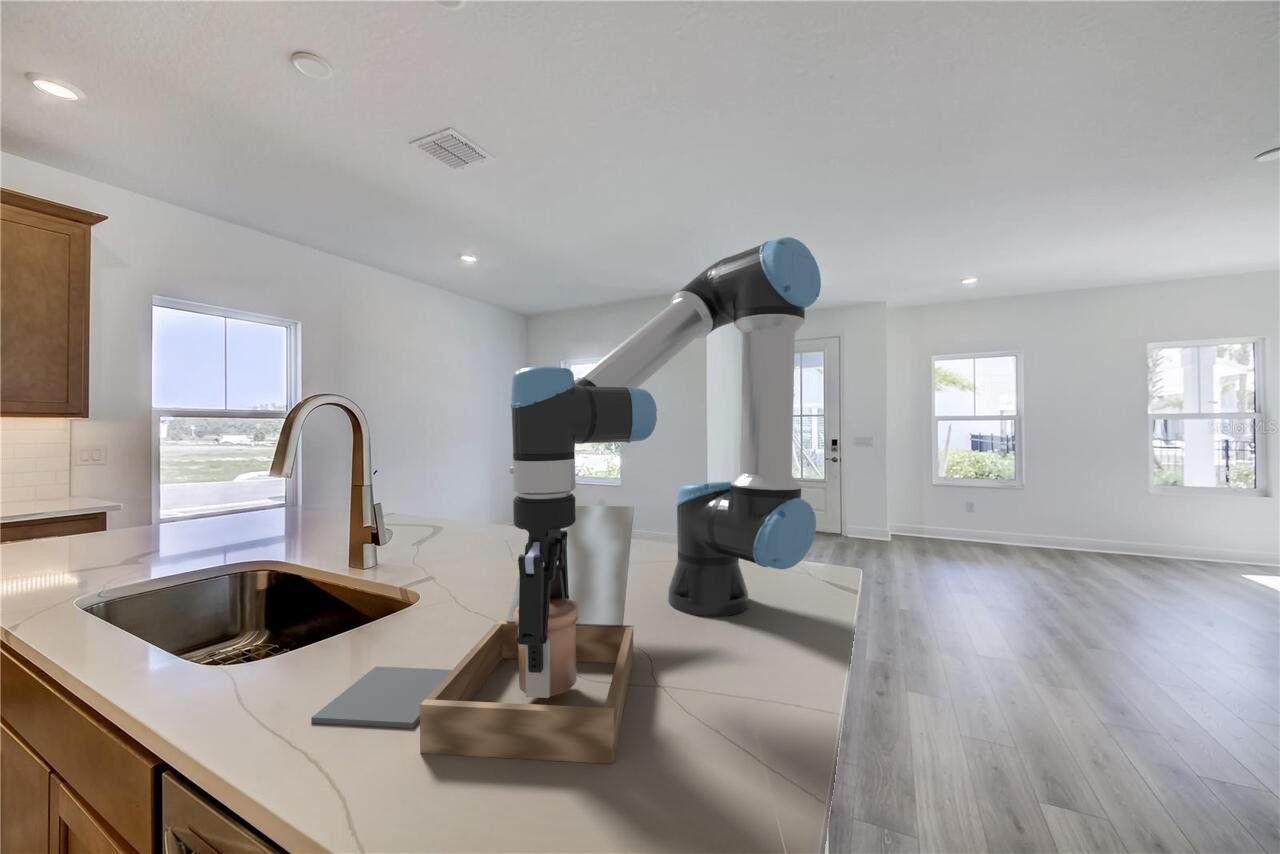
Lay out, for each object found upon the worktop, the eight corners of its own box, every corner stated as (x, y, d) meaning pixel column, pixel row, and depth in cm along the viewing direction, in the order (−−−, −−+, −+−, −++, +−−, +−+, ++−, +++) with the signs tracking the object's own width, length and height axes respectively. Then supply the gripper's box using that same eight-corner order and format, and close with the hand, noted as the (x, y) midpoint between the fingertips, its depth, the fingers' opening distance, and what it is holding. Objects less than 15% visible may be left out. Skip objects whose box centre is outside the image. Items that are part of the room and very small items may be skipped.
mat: (460, 674, 68) (460, 670, 68) (412, 728, 56) (412, 722, 56) (375, 670, 69) (375, 666, 69) (311, 722, 57) (311, 717, 57)
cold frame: (642, 616, 88) (642, 506, 88) (612, 763, 50) (612, 569, 50) (531, 612, 90) (531, 504, 90) (420, 753, 51) (419, 564, 51)
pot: (585, 666, 65) (583, 597, 65) (572, 699, 58) (571, 621, 58) (526, 664, 66) (525, 597, 66) (506, 697, 58) (505, 620, 58)
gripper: (537, 483, 72) (540, 642, 72) (483, 507, 52) (486, 726, 52) (589, 483, 71) (591, 643, 71) (554, 507, 51) (557, 729, 52)
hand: (547, 678), depth 62 cm, fingers closed on pot, 7 cm apart
